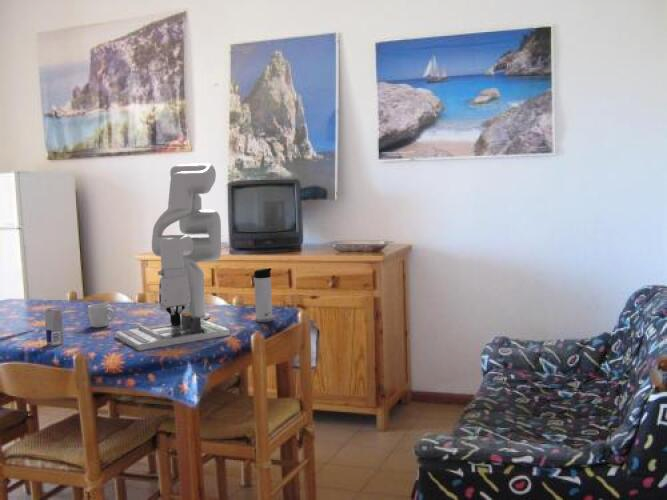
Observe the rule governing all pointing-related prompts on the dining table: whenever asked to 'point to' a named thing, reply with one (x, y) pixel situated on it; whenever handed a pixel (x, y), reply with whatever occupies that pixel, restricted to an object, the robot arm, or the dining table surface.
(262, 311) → the travel mug
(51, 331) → the energy drink
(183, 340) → the panel
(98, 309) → the cup
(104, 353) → the dining table surface
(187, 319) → the block
